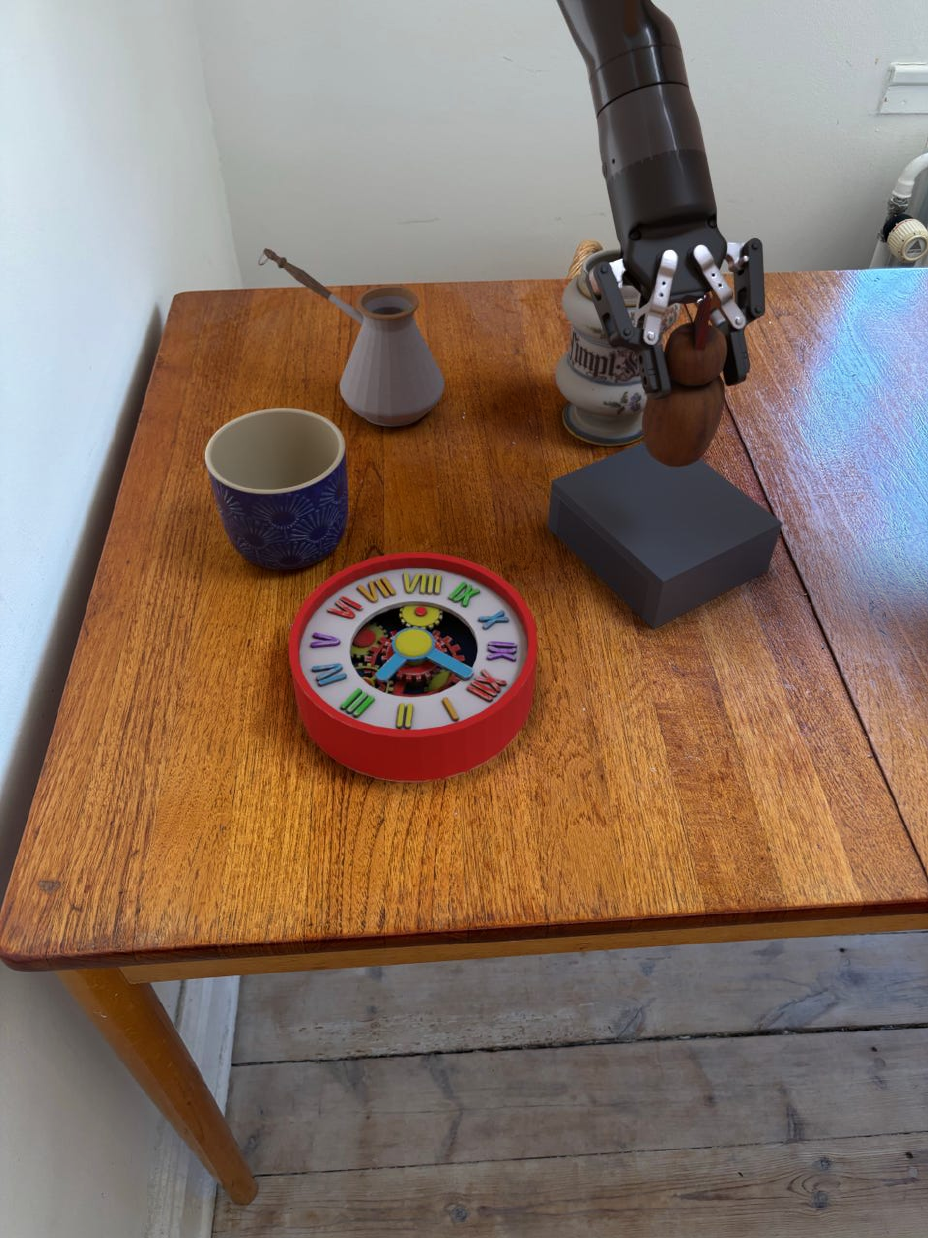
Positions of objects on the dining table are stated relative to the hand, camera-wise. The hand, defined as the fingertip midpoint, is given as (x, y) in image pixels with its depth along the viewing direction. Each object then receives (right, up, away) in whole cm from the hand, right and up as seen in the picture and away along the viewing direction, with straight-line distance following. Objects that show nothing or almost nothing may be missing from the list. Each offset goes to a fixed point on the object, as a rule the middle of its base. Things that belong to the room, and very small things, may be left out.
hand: (699, 389), depth 77 cm
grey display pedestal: (0, -11, +20) cm, 23 cm away
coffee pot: (-30, +8, +38) cm, 49 cm away
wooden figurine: (-1, -4, +7) cm, 8 cm away
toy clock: (-22, -23, +9) cm, 33 cm away
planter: (-35, -10, +21) cm, 42 cm away
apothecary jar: (-2, +4, +35) cm, 35 cm away
